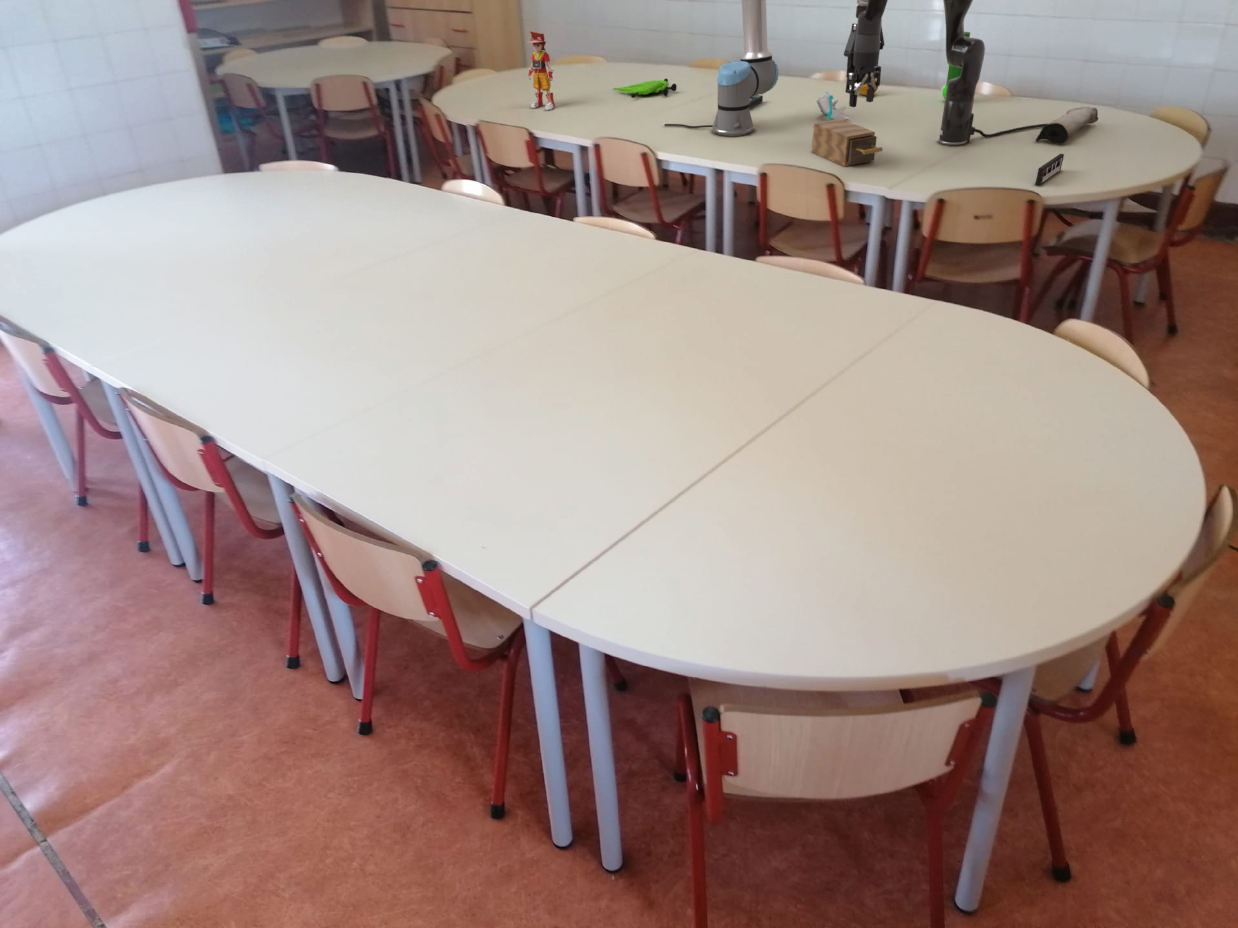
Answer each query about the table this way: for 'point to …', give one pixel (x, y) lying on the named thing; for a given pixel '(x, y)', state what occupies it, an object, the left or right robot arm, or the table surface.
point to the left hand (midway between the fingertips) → (861, 74)
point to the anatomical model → (831, 108)
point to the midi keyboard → (1049, 169)
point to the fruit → (864, 89)
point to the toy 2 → (648, 88)
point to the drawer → (862, 149)
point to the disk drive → (755, 100)
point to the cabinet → (836, 139)
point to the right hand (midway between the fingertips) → (861, 104)
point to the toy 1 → (541, 71)
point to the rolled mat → (1068, 125)
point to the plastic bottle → (953, 71)
